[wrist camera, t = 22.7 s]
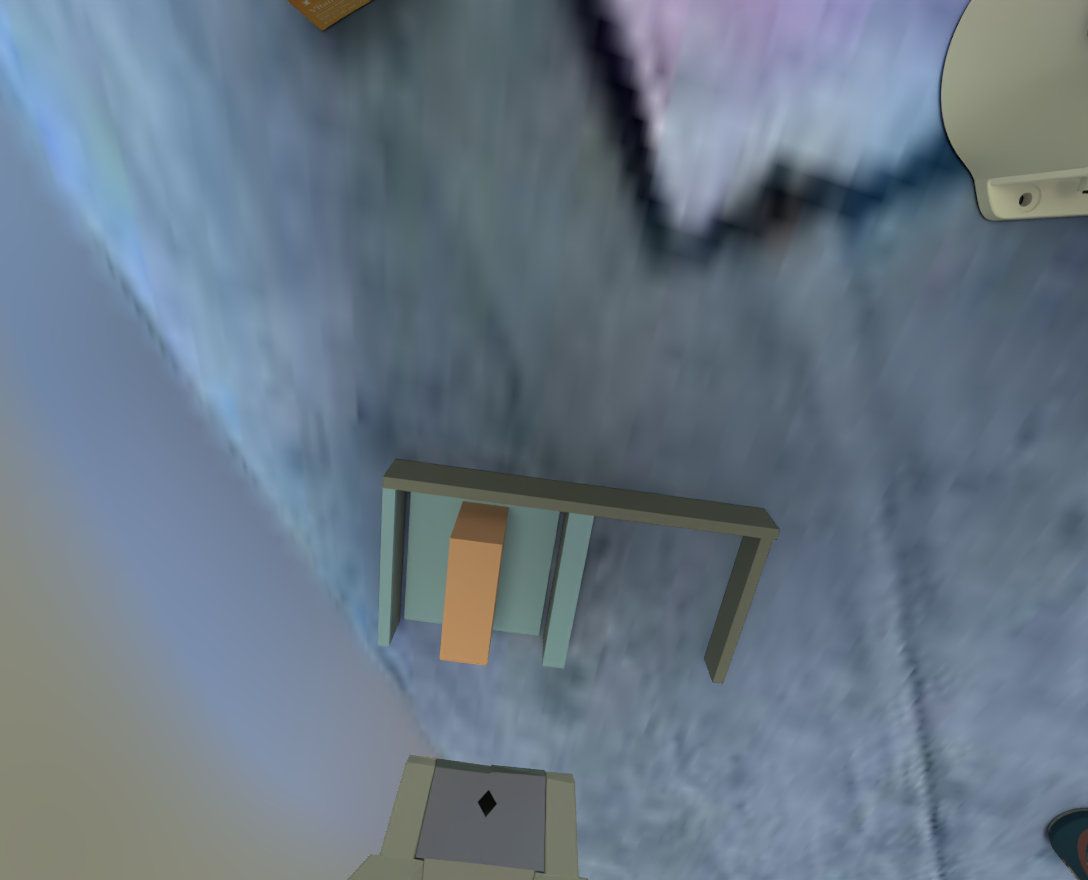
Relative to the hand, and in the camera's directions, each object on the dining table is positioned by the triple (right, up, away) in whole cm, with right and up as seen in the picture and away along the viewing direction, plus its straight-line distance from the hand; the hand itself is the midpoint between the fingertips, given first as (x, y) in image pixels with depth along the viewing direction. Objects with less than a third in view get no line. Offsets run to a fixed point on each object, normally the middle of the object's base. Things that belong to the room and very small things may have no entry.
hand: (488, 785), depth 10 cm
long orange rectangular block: (-5, -5, +38) cm, 39 cm away
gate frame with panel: (+3, -6, +39) cm, 39 cm away
